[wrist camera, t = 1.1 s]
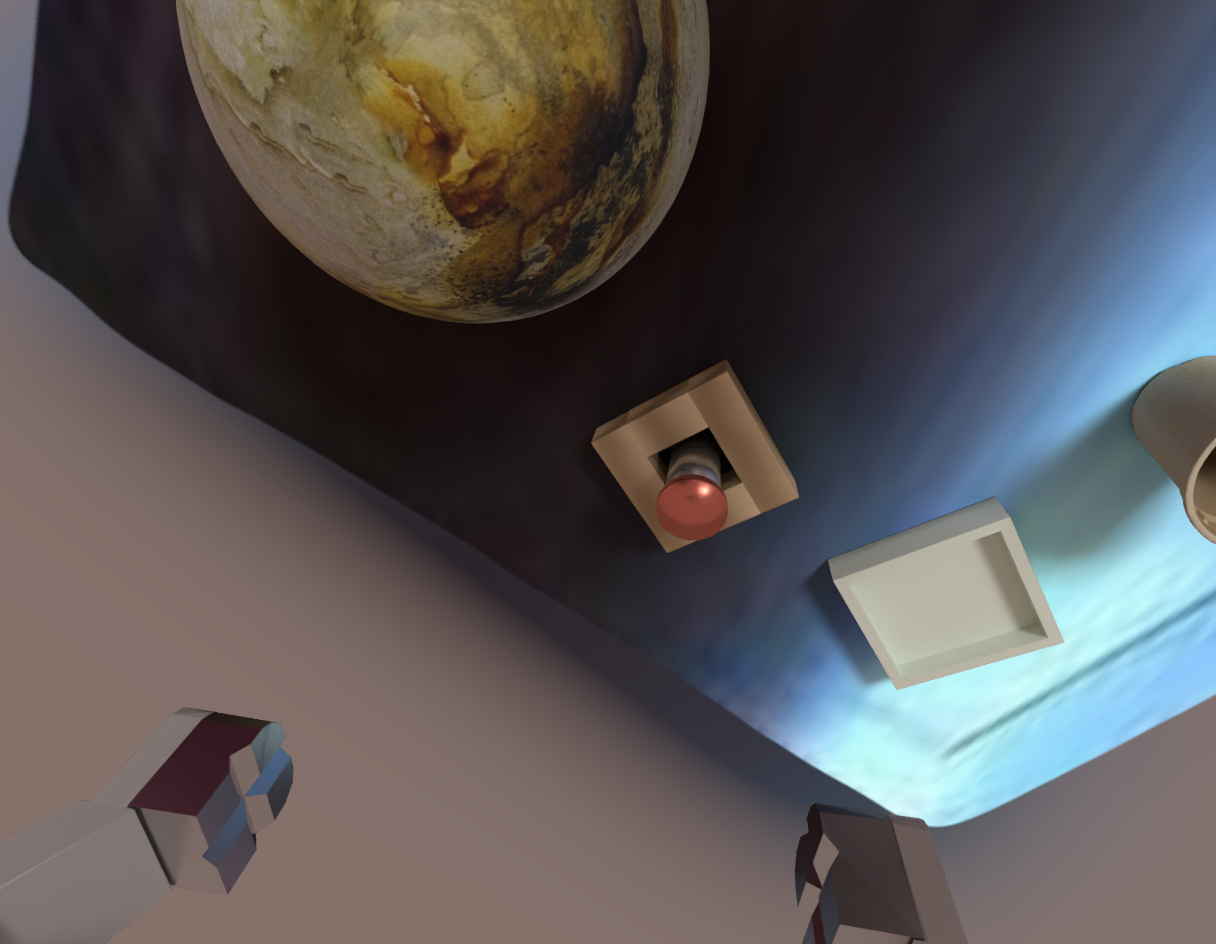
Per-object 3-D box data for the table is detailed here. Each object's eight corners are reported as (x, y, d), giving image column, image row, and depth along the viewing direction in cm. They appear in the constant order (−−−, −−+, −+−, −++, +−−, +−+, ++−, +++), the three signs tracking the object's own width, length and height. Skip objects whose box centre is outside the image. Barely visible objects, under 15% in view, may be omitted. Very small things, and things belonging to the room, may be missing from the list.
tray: (995, 496, 42) (1010, 516, 40) (1048, 617, 46) (1064, 642, 44) (827, 559, 46) (833, 580, 44) (889, 665, 50) (896, 690, 48)
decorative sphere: (602, 330, 41) (517, 486, 23) (318, 166, 38) (-9, 204, 21) (790, -11, 31) (881, -176, 14) (424, -258, 29) (-18, -829, 11)
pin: (707, 415, 42) (705, 469, 36) (737, 464, 44) (740, 524, 37) (654, 442, 44) (643, 498, 38) (684, 488, 45) (678, 550, 39)
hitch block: (726, 358, 40) (726, 371, 38) (794, 479, 44) (798, 497, 42) (597, 427, 44) (591, 443, 42) (669, 534, 47) (667, 553, 45)
